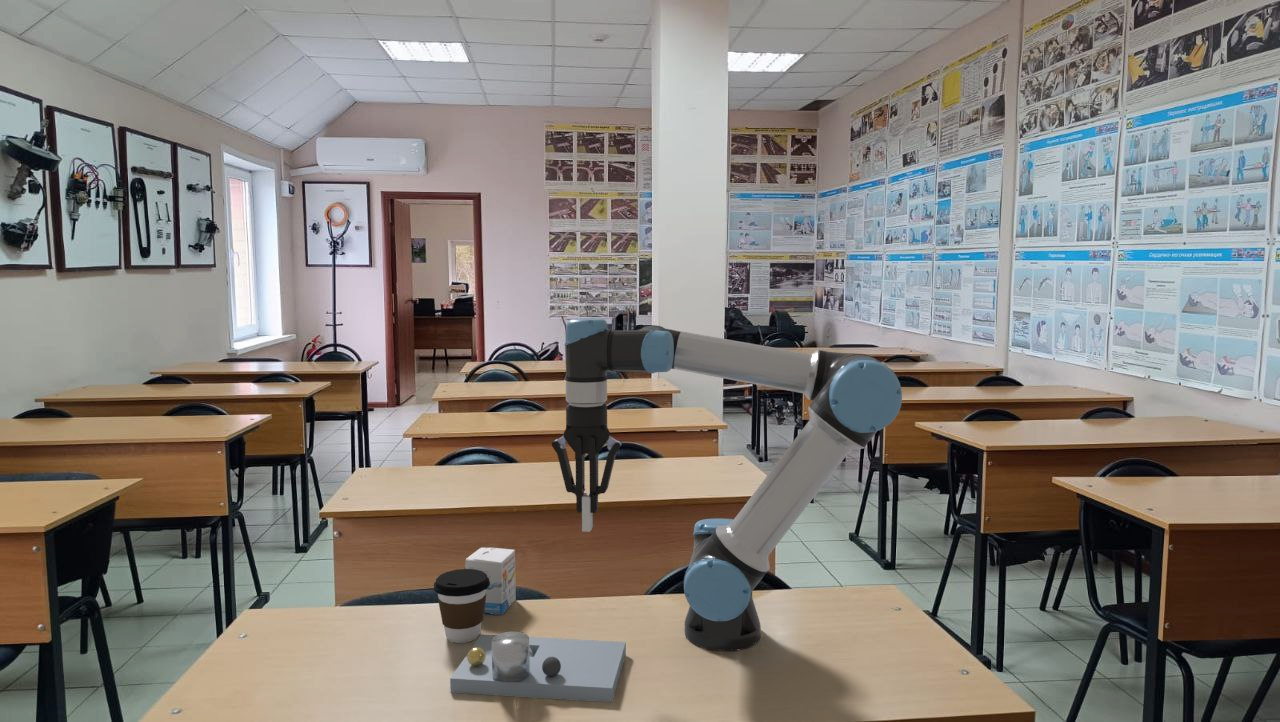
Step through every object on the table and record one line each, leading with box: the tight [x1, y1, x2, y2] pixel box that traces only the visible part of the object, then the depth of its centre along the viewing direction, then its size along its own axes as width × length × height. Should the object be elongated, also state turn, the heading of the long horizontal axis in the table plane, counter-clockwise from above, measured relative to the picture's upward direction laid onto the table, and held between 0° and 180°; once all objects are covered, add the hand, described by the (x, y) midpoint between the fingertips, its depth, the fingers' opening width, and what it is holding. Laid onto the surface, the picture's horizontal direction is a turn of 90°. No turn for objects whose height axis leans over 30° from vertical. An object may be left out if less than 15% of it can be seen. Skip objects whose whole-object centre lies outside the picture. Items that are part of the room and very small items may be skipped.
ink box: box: [464, 547, 517, 616], centre depth 170 cm, size 9×8×12 cm
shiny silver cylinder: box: [492, 630, 530, 682], centre depth 135 cm, size 6×6×6 cm
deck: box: [449, 633, 627, 703], centre depth 141 cm, size 28×17×2 cm, turn 83°
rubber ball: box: [542, 657, 561, 677], centre depth 135 cm, size 3×3×3 cm
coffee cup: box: [433, 568, 490, 644], centre depth 155 cm, size 11×11×12 cm
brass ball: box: [466, 647, 486, 666], centre depth 138 cm, size 3×3×3 cm
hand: (587, 529), depth 145 cm, fingers closed
